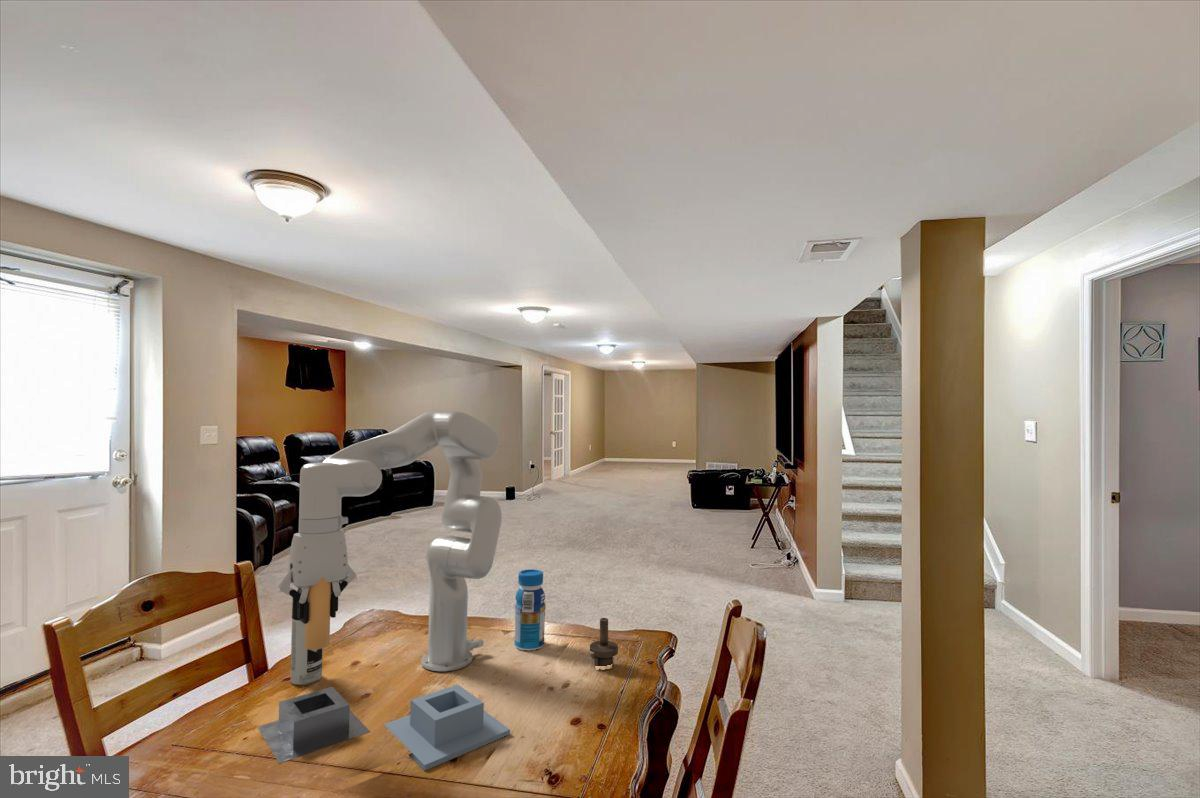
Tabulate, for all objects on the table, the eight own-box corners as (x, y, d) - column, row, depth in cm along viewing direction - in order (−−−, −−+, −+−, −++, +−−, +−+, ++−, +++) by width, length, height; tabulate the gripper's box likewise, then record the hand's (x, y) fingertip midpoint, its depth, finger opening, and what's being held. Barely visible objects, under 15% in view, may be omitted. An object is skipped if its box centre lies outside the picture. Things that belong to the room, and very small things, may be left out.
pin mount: (341, 705, 126) (342, 677, 126) (370, 736, 114) (371, 705, 114) (257, 732, 115) (258, 701, 115) (279, 769, 103) (280, 734, 103)
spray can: (308, 687, 134) (311, 599, 134) (283, 684, 135) (285, 597, 136) (328, 675, 140) (330, 590, 141) (303, 672, 142) (305, 588, 142)
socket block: (464, 700, 129) (464, 673, 129) (510, 734, 116) (510, 703, 116) (383, 729, 117) (384, 698, 117) (424, 770, 103) (425, 736, 104)
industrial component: (613, 659, 152) (614, 613, 152) (623, 671, 145) (623, 622, 146) (578, 663, 149) (579, 616, 150) (586, 675, 142) (587, 626, 143)
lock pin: (325, 639, 118) (326, 569, 119) (332, 645, 115) (334, 574, 115) (301, 644, 115) (303, 573, 116) (308, 651, 112) (310, 578, 112)
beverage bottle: (507, 645, 160) (509, 571, 161) (531, 637, 166) (532, 566, 167) (527, 654, 154) (529, 578, 155) (551, 645, 160) (552, 572, 161)
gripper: (356, 518, 124) (354, 604, 124) (267, 527, 113) (264, 623, 112) (370, 523, 119) (368, 614, 118) (277, 534, 107) (275, 634, 107)
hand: (317, 617), depth 115 cm, fingers closed on lock pin, 4 cm apart
